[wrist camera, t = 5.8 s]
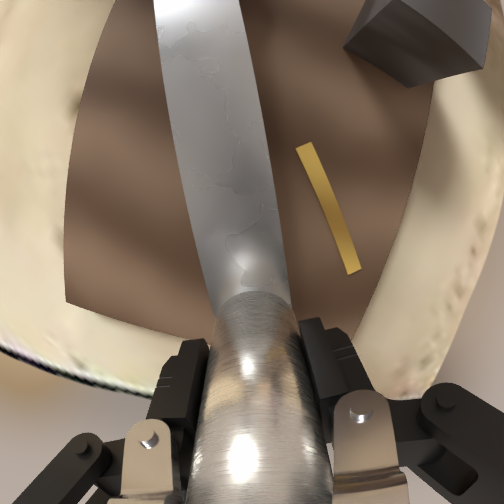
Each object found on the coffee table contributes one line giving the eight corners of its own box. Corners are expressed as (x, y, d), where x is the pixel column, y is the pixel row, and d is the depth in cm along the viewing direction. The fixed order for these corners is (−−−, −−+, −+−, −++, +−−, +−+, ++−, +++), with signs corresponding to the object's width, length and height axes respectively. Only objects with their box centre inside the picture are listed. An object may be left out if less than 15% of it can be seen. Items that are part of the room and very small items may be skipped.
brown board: (163, -55, 9) (129, -122, 2) (424, 8, 11) (494, -32, 3) (80, 288, 17) (14, 356, 10) (331, 346, 19) (364, 437, 11)
